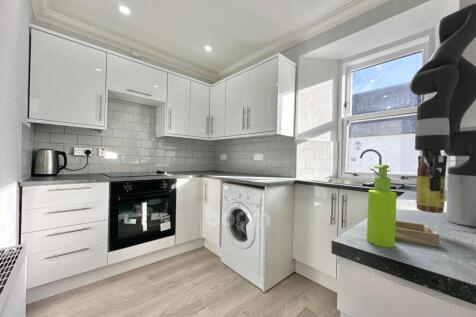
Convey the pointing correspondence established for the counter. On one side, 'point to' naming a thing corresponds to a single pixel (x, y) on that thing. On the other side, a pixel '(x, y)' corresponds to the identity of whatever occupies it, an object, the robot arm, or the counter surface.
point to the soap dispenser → (381, 211)
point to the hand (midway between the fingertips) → (430, 189)
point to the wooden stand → (416, 233)
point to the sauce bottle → (428, 191)
